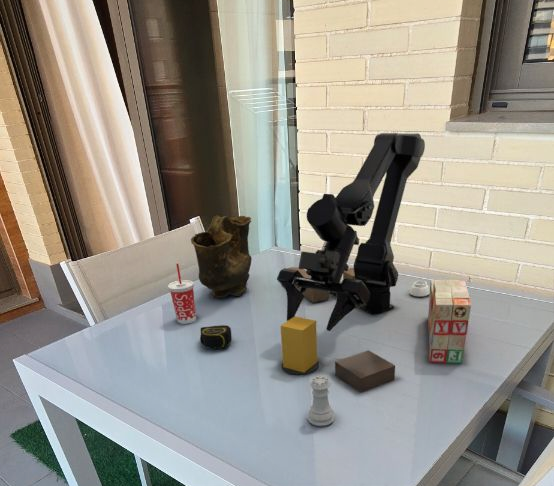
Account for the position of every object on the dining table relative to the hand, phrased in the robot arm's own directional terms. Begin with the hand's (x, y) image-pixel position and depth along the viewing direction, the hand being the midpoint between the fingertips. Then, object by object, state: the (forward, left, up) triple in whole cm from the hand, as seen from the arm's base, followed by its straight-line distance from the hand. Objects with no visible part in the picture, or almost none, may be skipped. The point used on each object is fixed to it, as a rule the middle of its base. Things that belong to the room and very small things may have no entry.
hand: (307, 325), depth 106 cm
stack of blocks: (+10, +27, -8) cm, 30 cm away
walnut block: (+13, +4, -7) cm, 15 cm away
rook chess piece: (+20, -11, -8) cm, 24 cm away
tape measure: (-19, -13, -8) cm, 24 cm away
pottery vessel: (-47, +4, -8) cm, 48 cm away
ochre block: (+1, -3, -7) cm, 8 cm away
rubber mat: (+1, -3, -7) cm, 8 cm away
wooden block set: (-32, +26, -8) cm, 42 cm away
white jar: (-13, +41, -8) cm, 44 cm away
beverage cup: (-36, -13, -8) cm, 39 cm away
